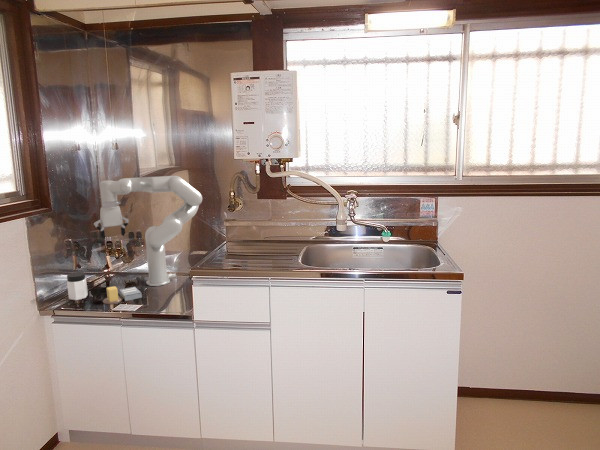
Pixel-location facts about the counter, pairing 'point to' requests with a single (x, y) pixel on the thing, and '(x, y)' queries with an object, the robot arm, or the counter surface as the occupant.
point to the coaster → (113, 301)
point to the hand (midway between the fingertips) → (113, 236)
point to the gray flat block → (130, 293)
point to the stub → (112, 293)
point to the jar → (77, 286)
